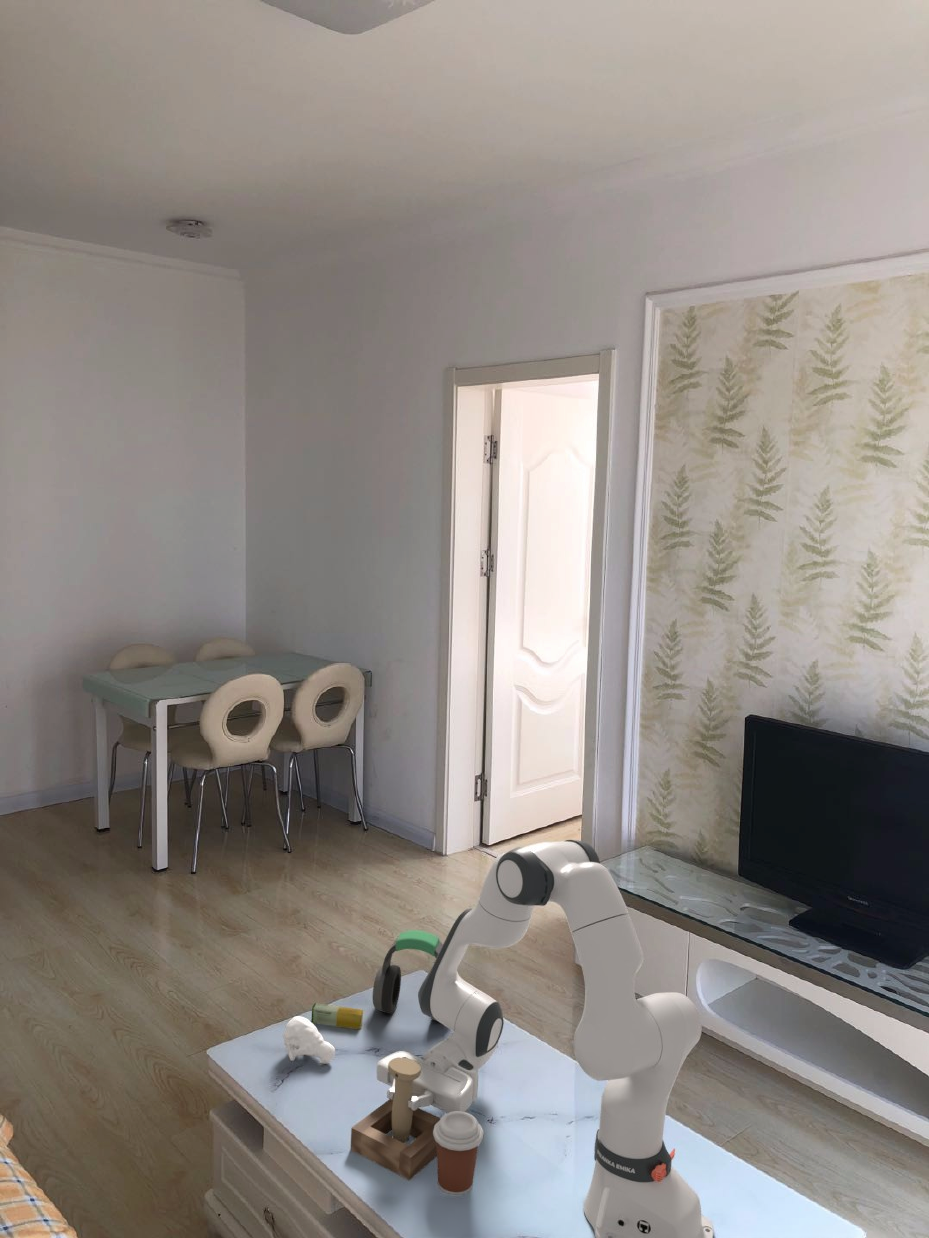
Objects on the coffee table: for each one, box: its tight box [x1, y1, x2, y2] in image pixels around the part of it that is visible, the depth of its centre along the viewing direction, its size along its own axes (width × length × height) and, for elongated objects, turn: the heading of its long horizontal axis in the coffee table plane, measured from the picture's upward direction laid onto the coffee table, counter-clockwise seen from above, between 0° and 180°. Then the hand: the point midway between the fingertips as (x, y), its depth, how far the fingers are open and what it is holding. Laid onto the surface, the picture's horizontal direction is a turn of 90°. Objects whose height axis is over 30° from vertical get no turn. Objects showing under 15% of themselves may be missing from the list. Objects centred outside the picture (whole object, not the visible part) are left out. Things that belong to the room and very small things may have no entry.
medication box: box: [310, 1002, 364, 1030], centre depth 237 cm, size 12×3×4 cm, turn 82°
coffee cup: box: [433, 1111, 484, 1197], centre depth 184 cm, size 9×9×12 cm
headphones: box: [372, 929, 444, 1021], centre depth 243 cm, size 19×11×20 cm, turn 80°
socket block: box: [349, 1099, 441, 1181], centre depth 194 cm, size 14×13×4 cm
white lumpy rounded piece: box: [282, 1015, 336, 1066], centre depth 222 cm, size 6×8×12 cm
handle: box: [388, 1057, 421, 1144], centre depth 193 cm, size 5×6×15 cm
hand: (400, 1100), depth 192 cm, fingers closed on handle, 3 cm apart
